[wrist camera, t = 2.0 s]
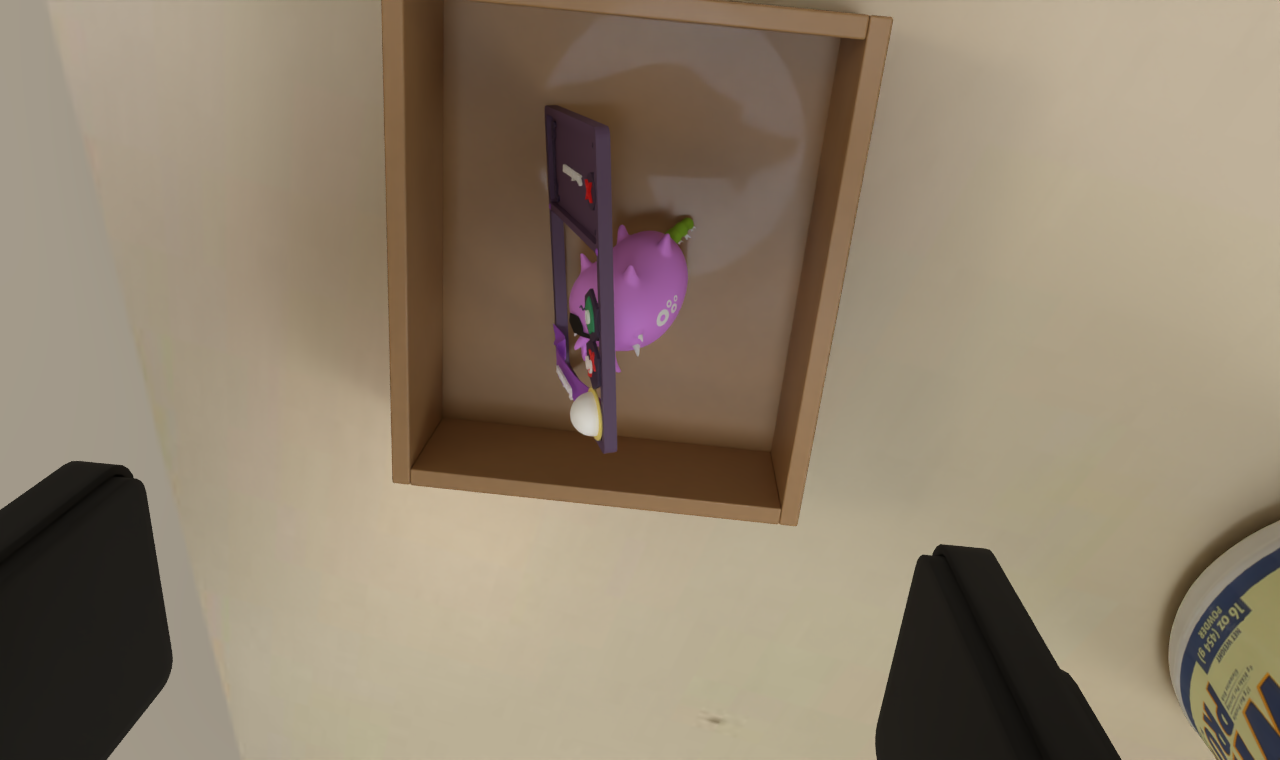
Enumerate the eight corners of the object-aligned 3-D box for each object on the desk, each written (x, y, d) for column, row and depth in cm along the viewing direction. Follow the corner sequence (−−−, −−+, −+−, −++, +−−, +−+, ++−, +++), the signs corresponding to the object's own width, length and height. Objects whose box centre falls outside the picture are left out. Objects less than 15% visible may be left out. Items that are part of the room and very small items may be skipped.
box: (428, 426, 32) (391, 483, 28) (427, -25, 26) (379, -34, 22) (783, 464, 32) (797, 527, 28) (862, 18, 26) (894, 17, 22)
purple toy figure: (565, 128, 21) (579, 460, 24) (764, 120, 22) (750, 436, 25) (520, 105, 27) (536, 374, 30) (679, 100, 28) (677, 358, 31)
